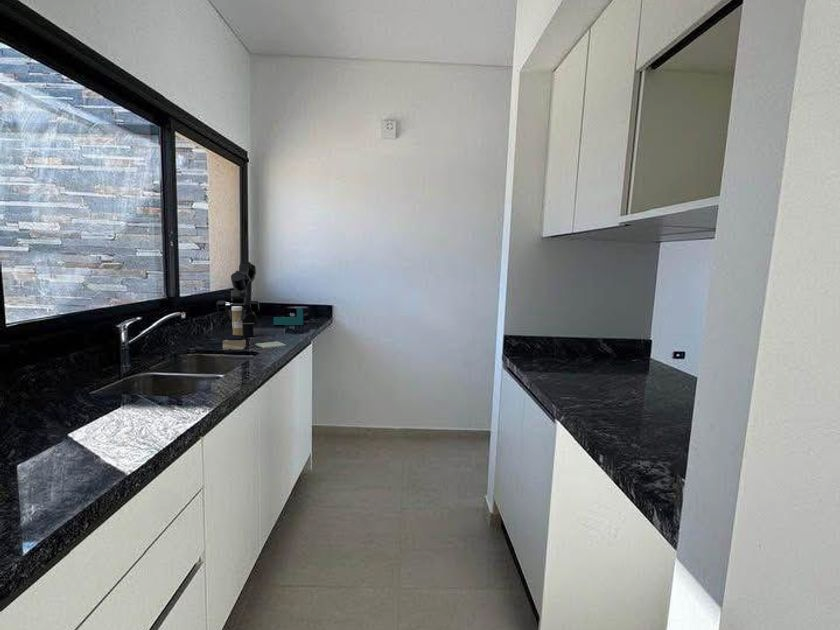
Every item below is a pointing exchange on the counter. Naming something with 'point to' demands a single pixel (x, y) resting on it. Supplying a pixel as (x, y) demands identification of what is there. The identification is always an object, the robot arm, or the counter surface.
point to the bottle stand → (234, 344)
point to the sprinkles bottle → (237, 320)
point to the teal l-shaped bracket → (290, 319)
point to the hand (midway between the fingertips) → (236, 320)
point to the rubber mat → (270, 344)
